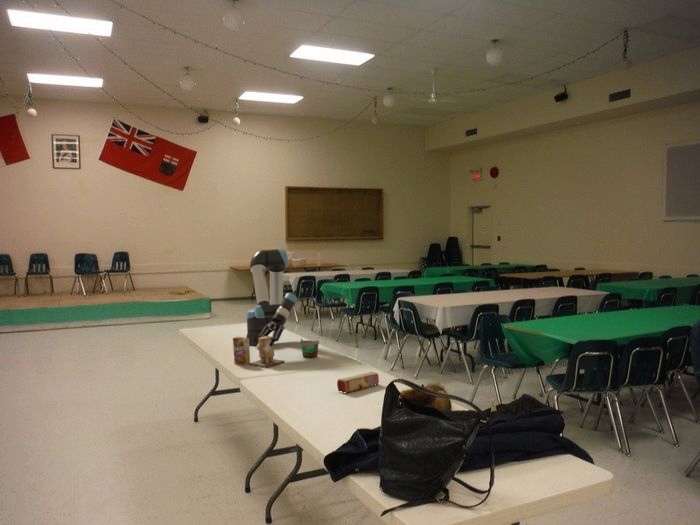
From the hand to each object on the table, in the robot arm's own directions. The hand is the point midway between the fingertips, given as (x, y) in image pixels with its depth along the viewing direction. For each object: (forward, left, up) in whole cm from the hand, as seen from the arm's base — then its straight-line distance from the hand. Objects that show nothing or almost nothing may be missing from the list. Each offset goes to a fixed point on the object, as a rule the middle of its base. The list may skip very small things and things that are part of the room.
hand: (261, 349), depth 310 cm
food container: (+11, +27, -9) cm, 30 cm away
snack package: (+72, -9, -9) cm, 73 cm away
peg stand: (0, +4, -9) cm, 10 cm away
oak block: (0, +4, -5) cm, 6 cm away
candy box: (-13, -3, -9) cm, 16 cm away
